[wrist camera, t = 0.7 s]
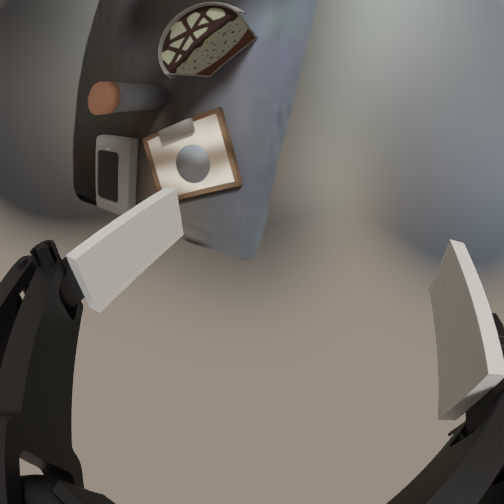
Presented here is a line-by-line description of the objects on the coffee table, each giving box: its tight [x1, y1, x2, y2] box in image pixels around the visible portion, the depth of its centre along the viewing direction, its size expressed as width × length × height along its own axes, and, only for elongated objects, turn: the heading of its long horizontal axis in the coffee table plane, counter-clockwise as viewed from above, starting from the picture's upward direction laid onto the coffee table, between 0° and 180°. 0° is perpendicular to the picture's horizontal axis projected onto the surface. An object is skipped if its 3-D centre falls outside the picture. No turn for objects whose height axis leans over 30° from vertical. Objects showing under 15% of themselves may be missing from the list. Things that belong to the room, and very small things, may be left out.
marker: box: [88, 82, 168, 115], centre depth 31 cm, size 5×5×13 cm
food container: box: [158, 2, 257, 78], centre depth 26 cm, size 12×6×10 cm, turn 127°
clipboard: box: [142, 107, 243, 200], centre depth 39 cm, size 12×15×2 cm
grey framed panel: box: [96, 135, 139, 215], centre depth 45 cm, size 10×4×15 cm
